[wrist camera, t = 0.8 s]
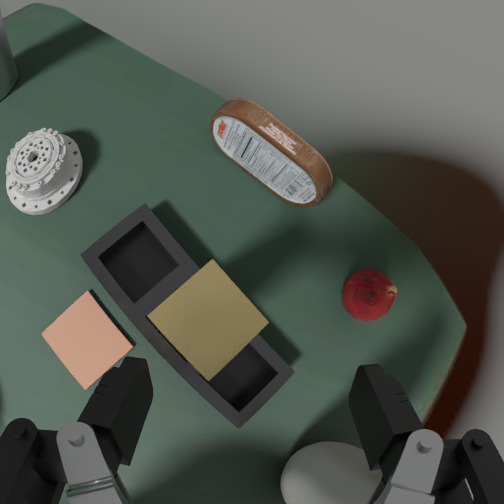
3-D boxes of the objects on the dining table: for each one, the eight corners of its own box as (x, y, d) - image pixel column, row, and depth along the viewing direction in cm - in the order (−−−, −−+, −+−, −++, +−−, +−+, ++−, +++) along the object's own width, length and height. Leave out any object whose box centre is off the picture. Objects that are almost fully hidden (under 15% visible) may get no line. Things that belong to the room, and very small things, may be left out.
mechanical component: (60, 227, 26) (97, 149, 29) (46, 213, 22) (92, 127, 25) (-2, 202, 24) (36, 132, 27) (-18, 187, 19) (26, 112, 22)
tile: (86, 389, 23) (85, 389, 23) (42, 333, 23) (41, 333, 22) (133, 346, 26) (133, 347, 25) (88, 290, 25) (87, 290, 25)
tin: (311, 203, 35) (350, 173, 28) (299, 221, 34) (338, 193, 26) (215, 127, 34) (233, 81, 26) (199, 142, 33) (213, 96, 25)
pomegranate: (330, 323, 32) (375, 321, 25) (327, 274, 34) (370, 260, 26) (367, 319, 34) (414, 315, 27) (364, 274, 36) (409, 262, 28)
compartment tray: (284, 368, 30) (295, 372, 27) (232, 421, 27) (238, 428, 24) (146, 212, 29) (145, 203, 27) (86, 260, 26) (80, 254, 24)
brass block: (184, 352, 27) (208, 381, 14) (153, 317, 27) (147, 315, 14) (217, 322, 28) (269, 322, 15) (187, 287, 28) (212, 258, 15)
